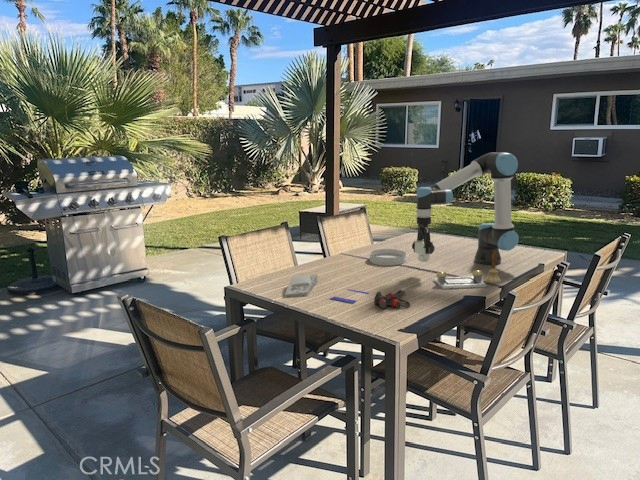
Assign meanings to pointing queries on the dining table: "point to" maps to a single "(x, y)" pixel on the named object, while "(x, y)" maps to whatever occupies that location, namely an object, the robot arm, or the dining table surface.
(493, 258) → the hand bell
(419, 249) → the pneumatic valve
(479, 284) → the plate
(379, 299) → the grey red jointed piece
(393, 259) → the dish
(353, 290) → the flat strips
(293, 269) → the dining table surface
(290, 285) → the ramp
